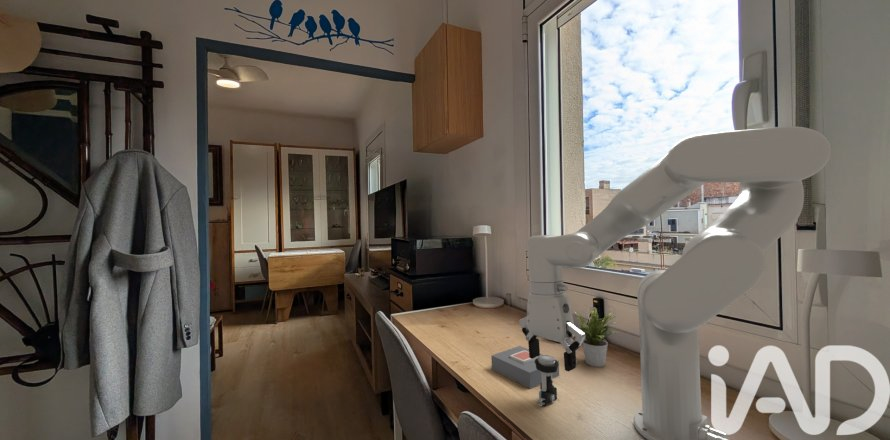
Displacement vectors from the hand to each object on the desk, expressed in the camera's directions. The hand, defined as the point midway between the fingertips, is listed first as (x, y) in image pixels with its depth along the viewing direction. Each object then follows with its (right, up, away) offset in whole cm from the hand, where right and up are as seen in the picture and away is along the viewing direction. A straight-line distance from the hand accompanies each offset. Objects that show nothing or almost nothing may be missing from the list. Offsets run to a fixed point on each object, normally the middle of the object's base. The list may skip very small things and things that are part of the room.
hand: (551, 362), depth 73 cm
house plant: (+21, -10, +20) cm, 31 cm away
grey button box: (-2, -10, +16) cm, 19 cm away
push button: (-1, -10, +1) cm, 10 cm away
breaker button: (-2, -9, +16) cm, 19 cm away
